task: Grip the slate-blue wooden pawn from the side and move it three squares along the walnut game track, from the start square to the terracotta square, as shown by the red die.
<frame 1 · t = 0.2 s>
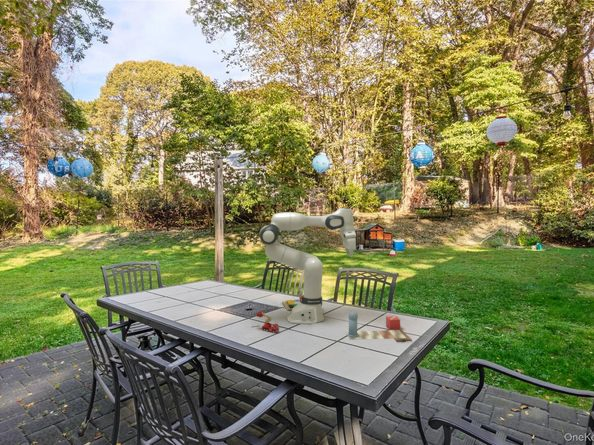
hand: (349, 255, 205), 39 cm above the table, tool pointing down, fingers open, 8 cm apart
game track: (375, 337, 177), on the table
pawn: (352, 335, 176), point 1 cm above the table, touching game track
red die: (393, 328, 190), on the table
wooden puzzle: (296, 307, 233), on the table
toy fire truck: (268, 330, 187), on the table
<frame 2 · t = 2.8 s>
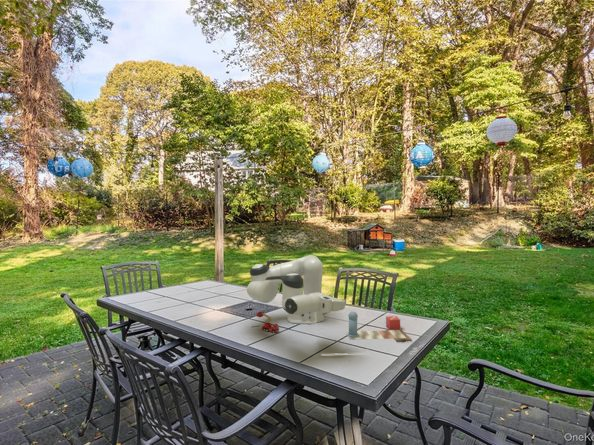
hand: (338, 298, 166), 24 cm above the table, tool horizontal, fingers open, 8 cm apart
nothing on the table moved.
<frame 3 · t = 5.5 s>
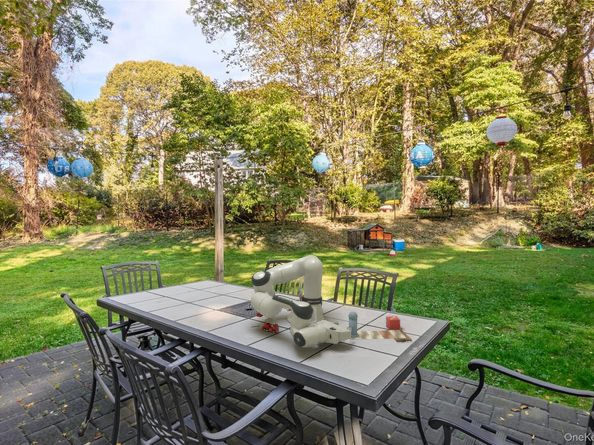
hand: (344, 326, 172), 8 cm above the table, tool horizontal, fingers open, 8 cm apart
nothing on the table moved.
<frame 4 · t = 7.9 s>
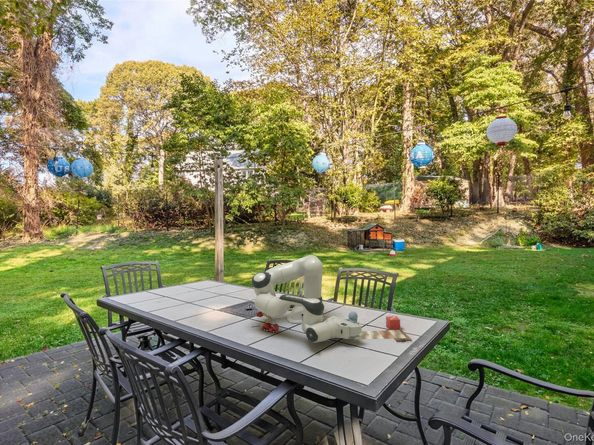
hand: (354, 321, 176), 8 cm above the table, tool horizontal, fingers closed on pawn, 4 cm apart
pawn: (352, 335, 176), point 1 cm above the table, touching game track, gripper
everything else where it was.
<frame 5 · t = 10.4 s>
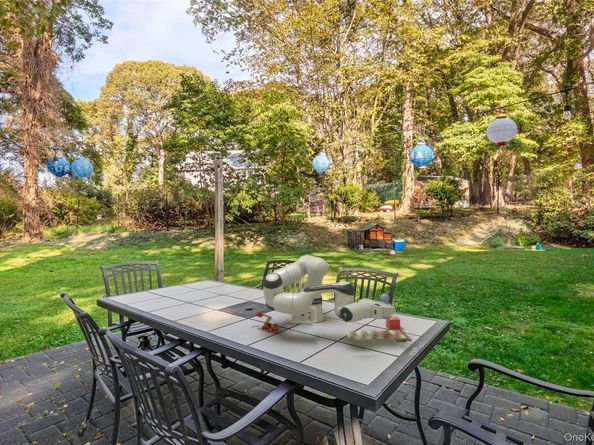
hand: (385, 303, 176), 18 cm above the table, tool horizontal, fingers closed on pawn, 4 cm apart
pawn: (384, 317, 176), point 11 cm above the table, touching gripper
everything else where it was.
when the fingers open (9 cm above the table, at t = 12.9 s): pawn stays where it is, resting on game track.
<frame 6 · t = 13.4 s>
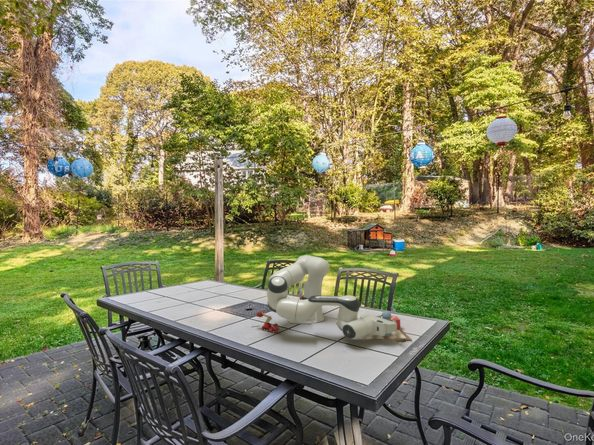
hand: (387, 319, 178), 9 cm above the table, tool horizontal, fingers open, 8 cm apart
pawn: (386, 334, 177), point 1 cm above the table, touching game track
everything else where it was.
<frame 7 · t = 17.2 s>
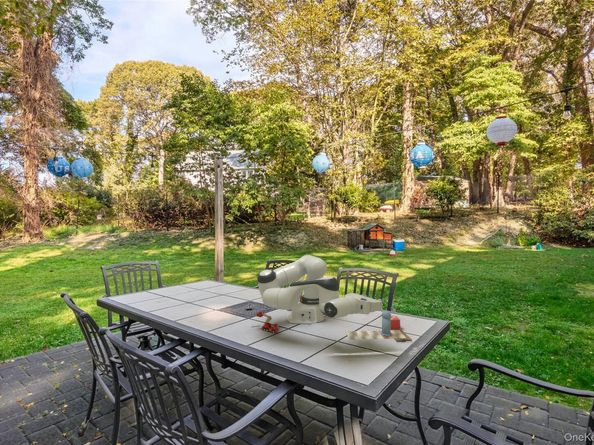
hand: (373, 298, 168), 23 cm above the table, tool horizontal, fingers open, 8 cm apart
nothing on the table moved.
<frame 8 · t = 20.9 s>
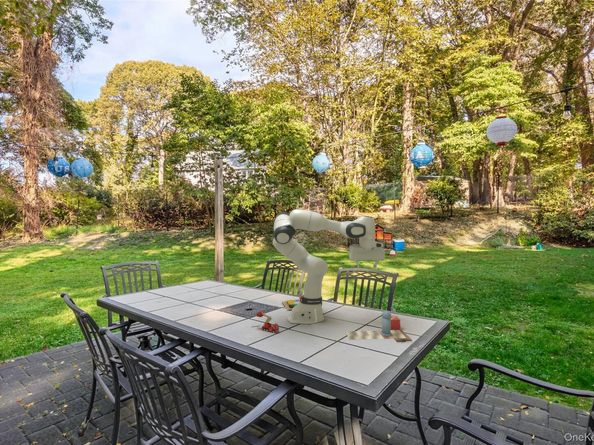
hand: (366, 267, 192), 34 cm above the table, tool pointing down, fingers open, 8 cm apart
nothing on the table moved.
at the end: pawn 0.1 cm from the target spot, point 1.4 cm above the table; pawn tilted 1°; the gripper is holding nothing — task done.
